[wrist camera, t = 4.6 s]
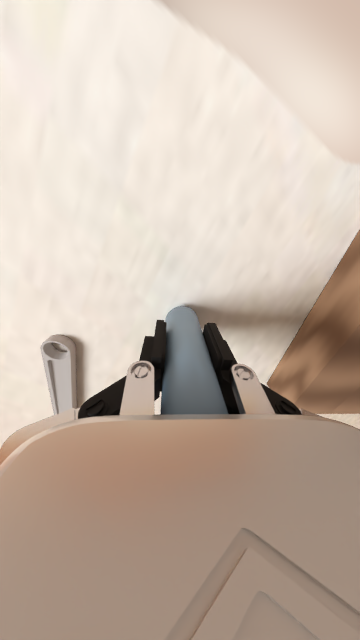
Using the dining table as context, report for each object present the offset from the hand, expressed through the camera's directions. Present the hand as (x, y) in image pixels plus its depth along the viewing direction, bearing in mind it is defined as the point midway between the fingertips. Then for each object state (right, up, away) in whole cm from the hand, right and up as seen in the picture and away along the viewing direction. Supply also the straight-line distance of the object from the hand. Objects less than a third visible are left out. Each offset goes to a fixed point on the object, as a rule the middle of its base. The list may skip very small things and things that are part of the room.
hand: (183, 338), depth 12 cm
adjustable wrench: (-15, -11, +10) cm, 21 cm away
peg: (0, +1, +2) cm, 3 cm away
